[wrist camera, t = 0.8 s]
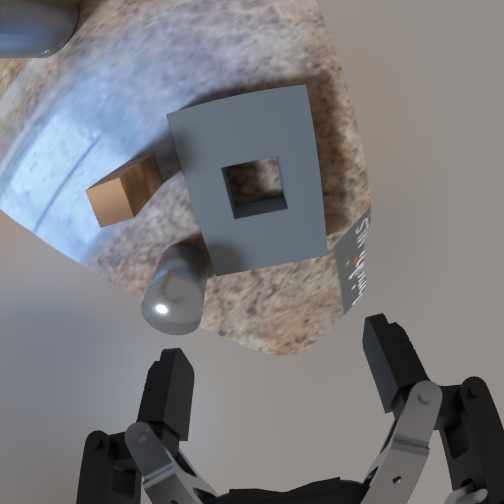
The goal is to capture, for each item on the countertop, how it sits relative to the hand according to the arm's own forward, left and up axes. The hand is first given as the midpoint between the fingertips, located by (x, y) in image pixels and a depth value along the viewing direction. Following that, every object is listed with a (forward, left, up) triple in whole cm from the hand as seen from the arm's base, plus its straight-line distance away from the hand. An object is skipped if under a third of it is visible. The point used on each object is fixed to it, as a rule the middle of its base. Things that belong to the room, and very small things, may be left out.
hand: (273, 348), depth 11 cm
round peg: (+10, -12, -24) cm, 29 cm away
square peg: (-4, -13, -24) cm, 28 cm away
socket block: (0, 0, -24) cm, 24 cm away
